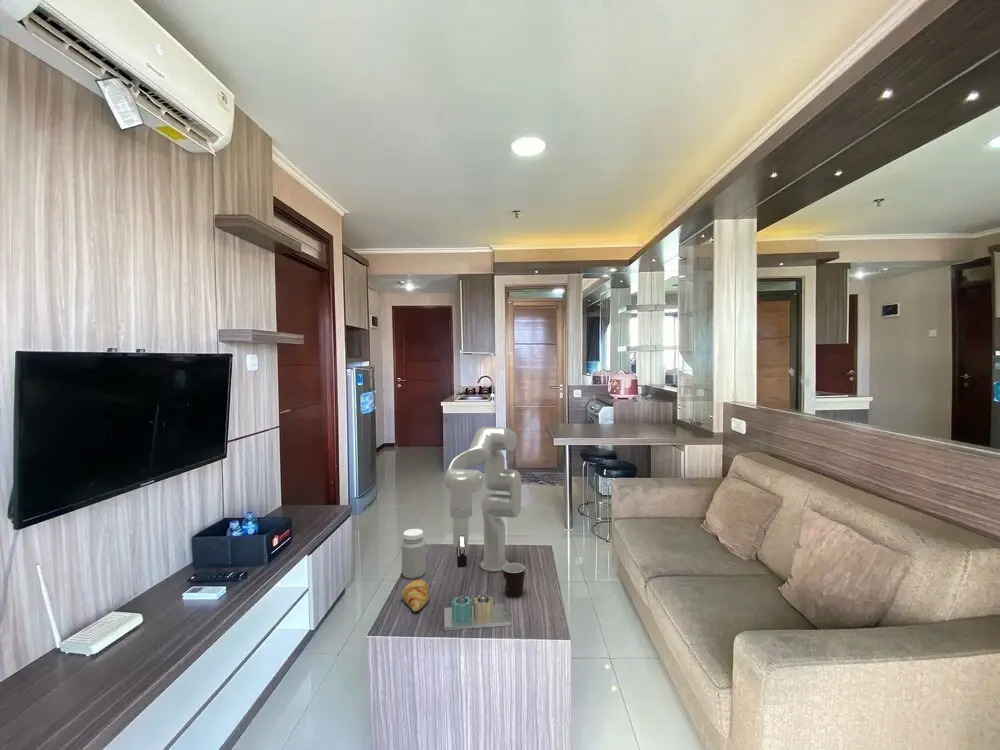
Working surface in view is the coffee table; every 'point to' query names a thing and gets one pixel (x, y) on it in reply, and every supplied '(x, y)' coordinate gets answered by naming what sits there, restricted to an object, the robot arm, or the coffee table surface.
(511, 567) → the coffee mug
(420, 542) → the jar
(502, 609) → the board
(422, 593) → the croissant
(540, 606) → the coffee table surface
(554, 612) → the coffee table surface
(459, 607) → the gear
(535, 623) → the coffee table surface
